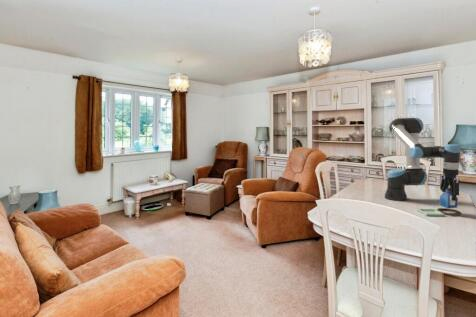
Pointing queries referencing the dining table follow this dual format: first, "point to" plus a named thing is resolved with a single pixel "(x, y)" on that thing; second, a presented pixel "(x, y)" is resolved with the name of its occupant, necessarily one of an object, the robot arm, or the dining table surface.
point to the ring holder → (449, 213)
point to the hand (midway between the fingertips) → (448, 203)
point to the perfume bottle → (447, 199)
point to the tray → (430, 212)
